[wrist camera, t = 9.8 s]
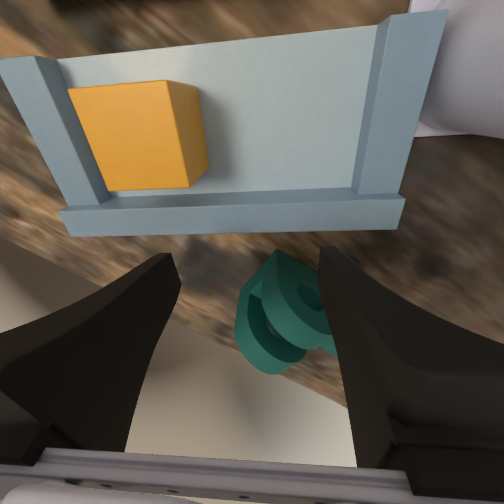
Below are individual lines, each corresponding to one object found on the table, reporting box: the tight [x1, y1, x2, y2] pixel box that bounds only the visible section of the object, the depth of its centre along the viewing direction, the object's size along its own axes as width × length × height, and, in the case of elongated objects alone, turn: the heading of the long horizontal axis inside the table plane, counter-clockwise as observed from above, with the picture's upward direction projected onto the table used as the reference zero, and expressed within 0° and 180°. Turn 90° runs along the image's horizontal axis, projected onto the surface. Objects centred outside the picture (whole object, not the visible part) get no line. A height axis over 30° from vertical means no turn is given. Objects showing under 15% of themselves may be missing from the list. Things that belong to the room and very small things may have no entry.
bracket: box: [234, 249, 337, 374], centre depth 23 cm, size 18×7×8 cm, turn 58°
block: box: [68, 79, 210, 191], centre depth 13 cm, size 4×4×4 cm
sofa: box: [0, 9, 449, 237], centre depth 15 cm, size 22×10×6 cm, turn 94°
